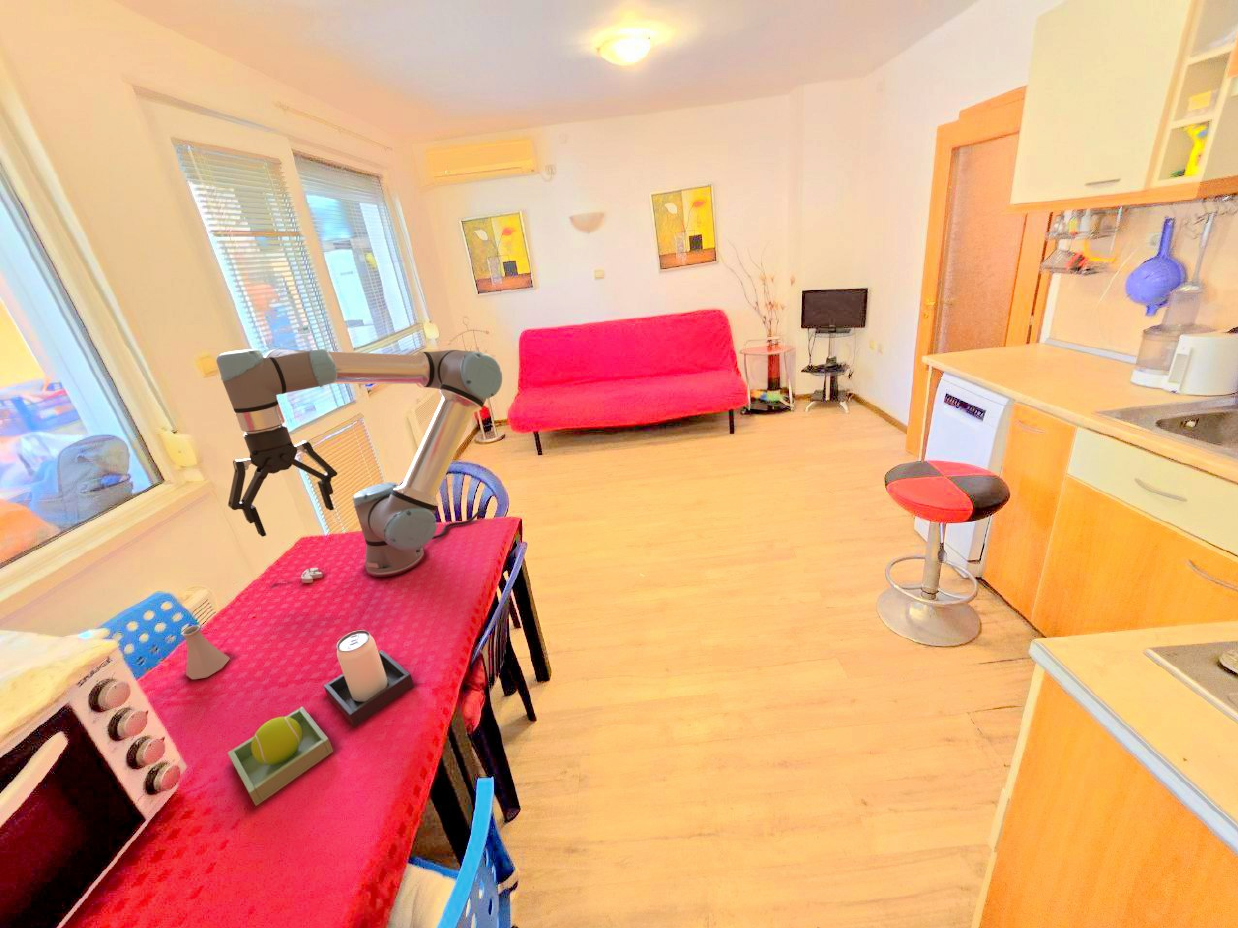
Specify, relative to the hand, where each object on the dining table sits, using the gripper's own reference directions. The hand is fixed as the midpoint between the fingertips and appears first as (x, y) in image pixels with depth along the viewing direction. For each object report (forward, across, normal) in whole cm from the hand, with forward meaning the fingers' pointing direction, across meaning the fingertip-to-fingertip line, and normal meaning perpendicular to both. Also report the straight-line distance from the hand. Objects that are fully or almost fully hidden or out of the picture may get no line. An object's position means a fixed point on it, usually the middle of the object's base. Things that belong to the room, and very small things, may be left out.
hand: (297, 521), depth 110 cm
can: (+26, +5, +30) cm, 40 cm away
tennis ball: (+26, +21, +32) cm, 46 cm away
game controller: (+27, -2, -27) cm, 38 cm away
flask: (+27, +23, -7) cm, 36 cm away
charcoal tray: (+27, +5, +30) cm, 40 cm away
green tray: (+27, +21, +32) cm, 47 cm away
